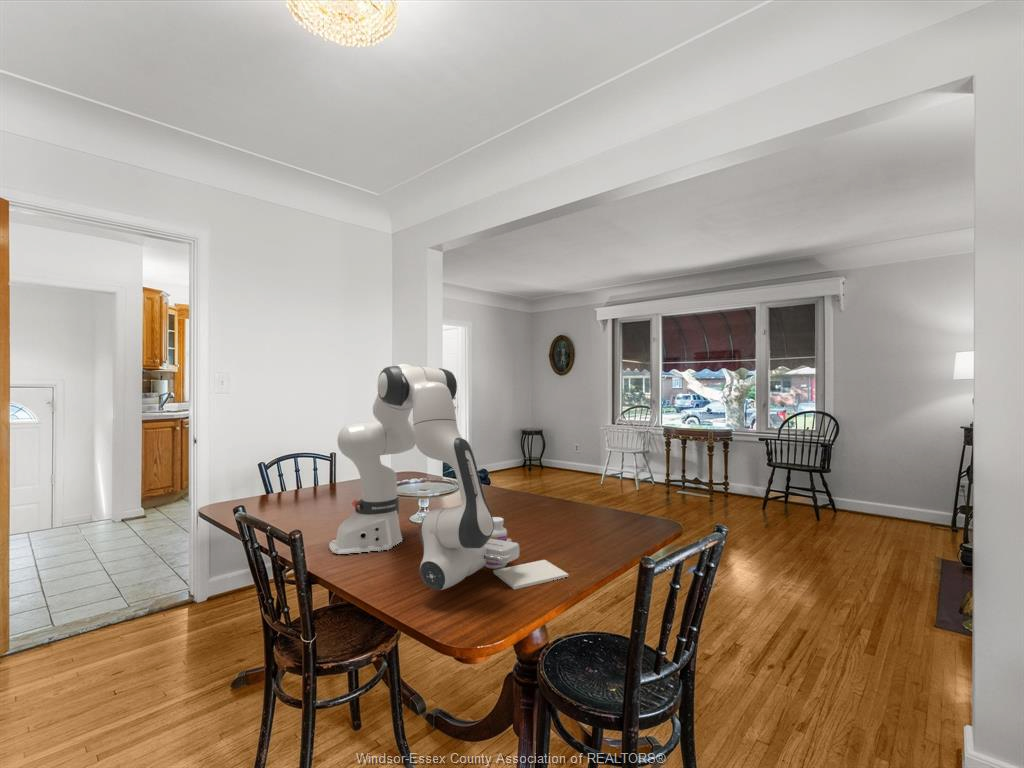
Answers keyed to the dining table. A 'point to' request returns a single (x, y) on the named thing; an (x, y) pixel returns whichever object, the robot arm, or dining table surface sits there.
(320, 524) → the dining table surface
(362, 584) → the dining table surface
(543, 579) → the off-white mat
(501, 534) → the supplement bottle
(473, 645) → the dining table surface
